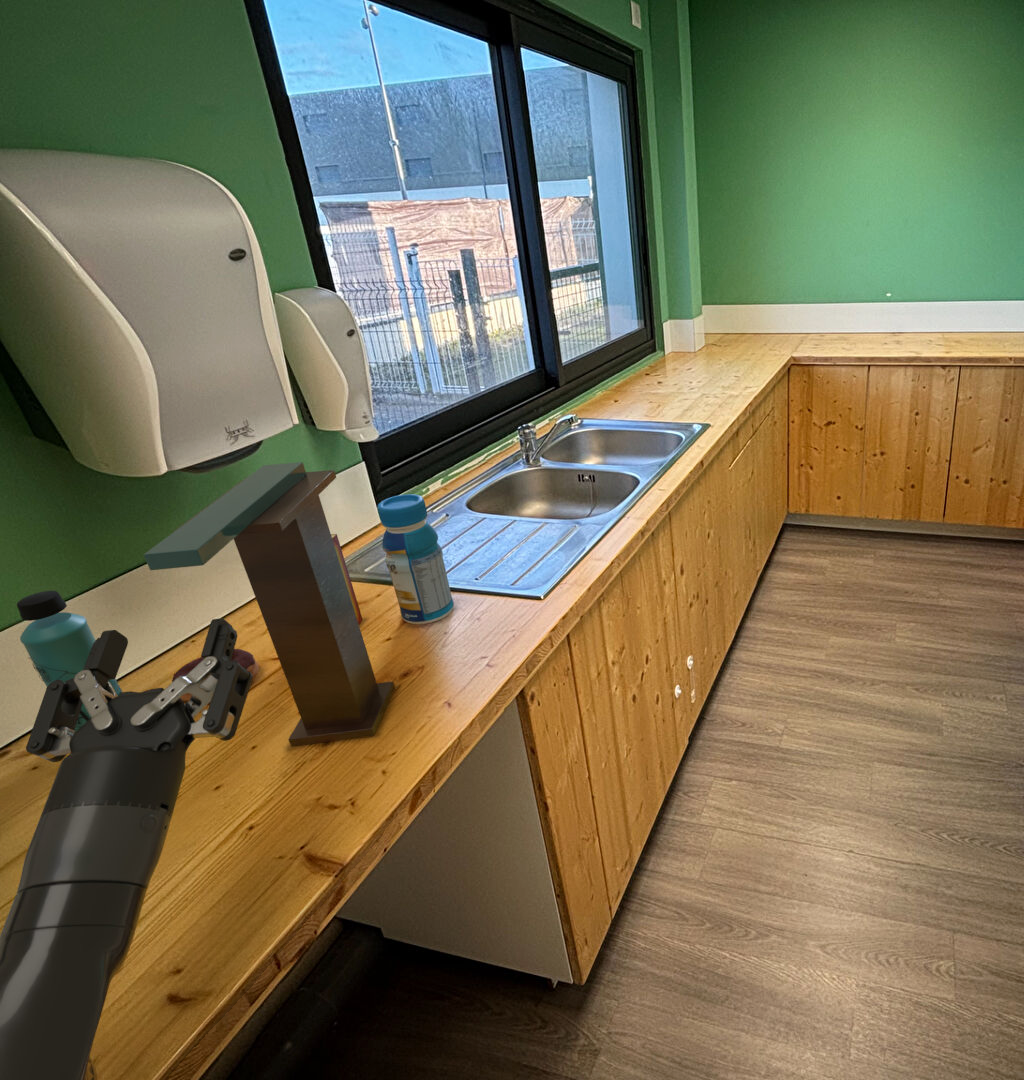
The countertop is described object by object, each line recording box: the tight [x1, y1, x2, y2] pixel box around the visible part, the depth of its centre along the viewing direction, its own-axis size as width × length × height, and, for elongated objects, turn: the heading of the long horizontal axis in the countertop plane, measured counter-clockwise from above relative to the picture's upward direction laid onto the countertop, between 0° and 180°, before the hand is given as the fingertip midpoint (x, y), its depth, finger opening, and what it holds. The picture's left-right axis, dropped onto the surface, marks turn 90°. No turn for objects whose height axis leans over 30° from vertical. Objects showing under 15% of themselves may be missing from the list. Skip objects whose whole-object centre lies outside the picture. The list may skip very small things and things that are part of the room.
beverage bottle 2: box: [377, 493, 455, 625], centre depth 112 cm, size 8×8×20 cm
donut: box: [171, 648, 260, 702], centre depth 99 cm, size 10×10×4 cm
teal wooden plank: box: [143, 461, 307, 571], centre depth 72 cm, size 24×4×2 cm, turn 8°
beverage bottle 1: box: [16, 590, 123, 732], centre depth 88 cm, size 6×7×20 cm
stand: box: [172, 469, 396, 747], centre depth 84 cm, size 16×10×32 cm, turn 8°
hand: (170, 628), depth 60 cm, fingers open, 8 cm apart
